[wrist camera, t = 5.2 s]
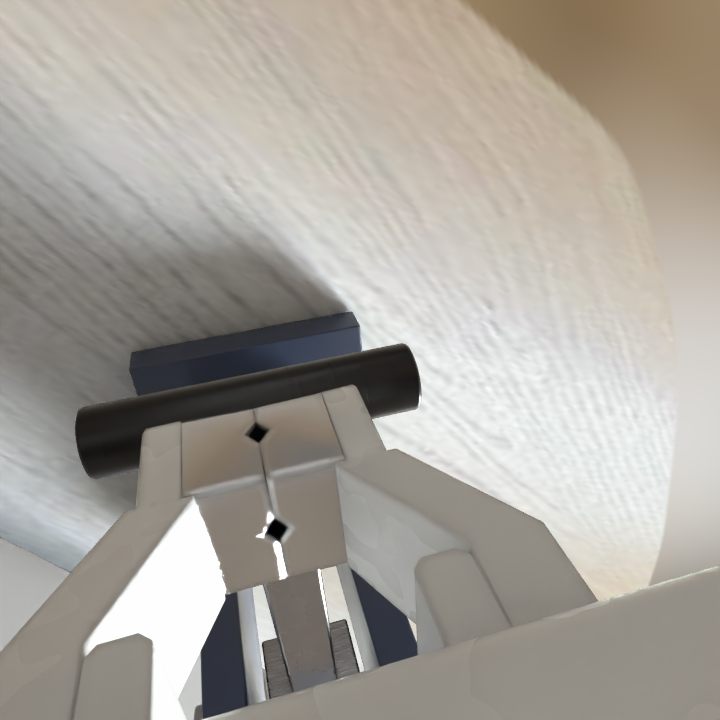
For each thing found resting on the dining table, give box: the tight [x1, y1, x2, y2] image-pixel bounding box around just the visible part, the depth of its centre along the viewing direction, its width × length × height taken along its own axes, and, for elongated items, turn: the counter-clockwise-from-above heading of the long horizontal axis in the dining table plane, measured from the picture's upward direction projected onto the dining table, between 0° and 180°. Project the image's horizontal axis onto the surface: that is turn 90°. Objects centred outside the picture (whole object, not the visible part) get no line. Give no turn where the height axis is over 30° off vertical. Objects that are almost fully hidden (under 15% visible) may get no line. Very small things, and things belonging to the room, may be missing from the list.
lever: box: [75, 343, 421, 700], centre depth 13 cm, size 12×5×2 cm, turn 5°
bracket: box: [129, 312, 418, 720], centre depth 19 cm, size 10×8×13 cm
